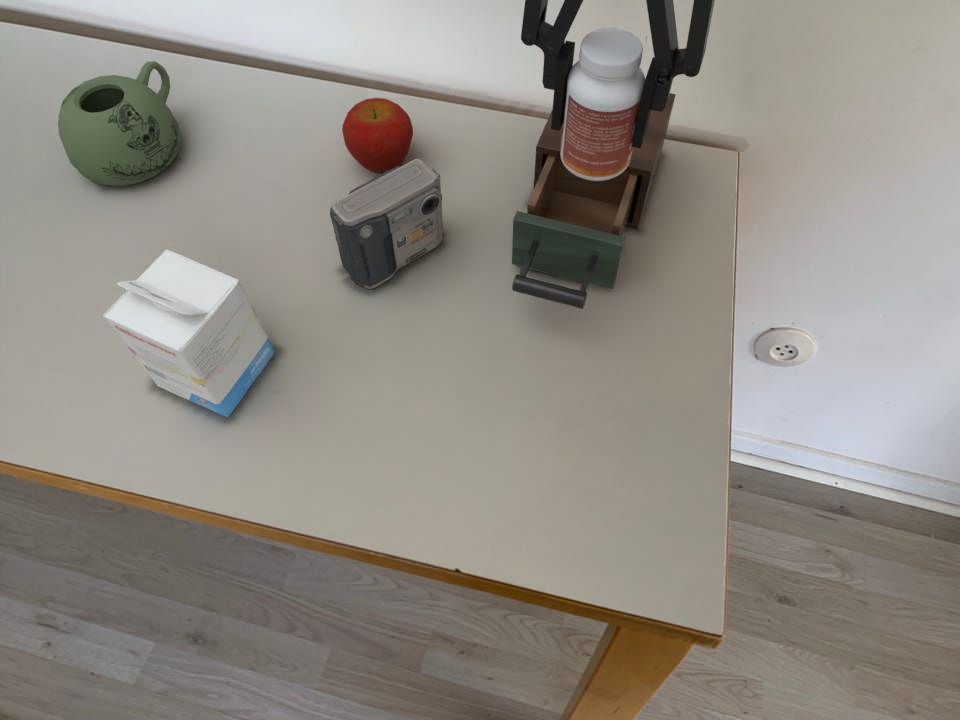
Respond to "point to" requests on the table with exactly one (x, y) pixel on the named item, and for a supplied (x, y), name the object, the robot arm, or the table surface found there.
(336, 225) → the camera
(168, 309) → the ink box
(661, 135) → the cabinet
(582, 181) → the drawer
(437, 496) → the table surface
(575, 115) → the pill bottle
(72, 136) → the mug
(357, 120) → the apple
